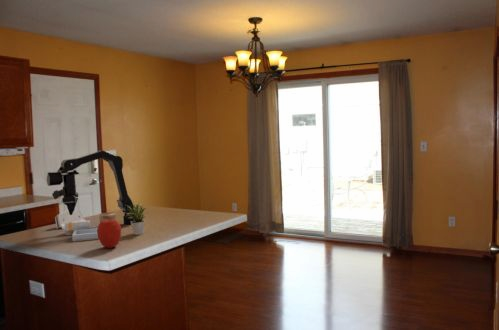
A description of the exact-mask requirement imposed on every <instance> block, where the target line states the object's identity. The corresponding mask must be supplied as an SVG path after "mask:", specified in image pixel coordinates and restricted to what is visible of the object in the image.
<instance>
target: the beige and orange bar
mask: <svg viewBox="0 0 499 330" xmlns="http://www.w3.org/2000/svg"><path fill="white" fill-rule="evenodd" d="M90 227H91V220H89V219H88V220H86V221H75V222H65V229H64V232H65V231H72V230H82V229H90Z"/></svg>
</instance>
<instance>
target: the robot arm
mask: <svg viewBox="0 0 499 330" xmlns="http://www.w3.org/2000/svg"><path fill="white" fill-rule="evenodd" d="M100 159H102V160H104V161H105V162H107V163H108V165H109V168H110V169H111V171H112V172H113V175H114V179H115V183H116V187H117V190H118V195H119V198H118V199H116V202H117V207H118V208H119V209H120V210H121V211H122V212H123V214H124V215H123V216H122V219H123V223H124V225H125V226H126V225H131V221H134V219H132V218H131V217H132V216H133V214H129V215H132V216H131V217H130V216H129V215H128V214H126V213H131V212H132V211H131V209H132V210H133V208H134V206H133V205H134V203H133V201H132V199H131V197H130V195H129V194H128V191H127V186H126V182H125V178H124V173H123V167H124V165H123V157H121V156H119V155H114V154H112V153H110V152H107V151H106V150H104V149H103V150H102V149H101V150H100V149H99V150H98V151H94V152H92V153H89V154H85V155H83V156H79V157H77V158H68V159H67V158H66V159H63V160H62V161H61V163H60V167H59V168H58V170H57V171H53V172H51V171H48V172H47V175H46V185H47V186H48V187H50V186H51V187H52V186H59V185H60V186H61V185H62V184H63V187H62V189H59V190H57V189H56V190H54V191H53V192H52V194H51V195H52V198H53V199H54V200H56V199H58V198H60V197H62V201H61V202H62V203H63V205H64V206H66V208H67V211H69V214H70V215H72V214H73V212H74V210H76V205H77V203H78V200H79V193H78V192H77V184H76V175H80V172H78V171H77V170H76V169H77V168H79V167H80V166H82V165H85V164H88V163H90V162H95V161H97V160H100ZM126 205H127V206H126ZM128 206H129V207H130V208H131V209H130V208H129V207H128ZM127 208H128V210H127ZM129 209H130V211H131V212H130V211H129ZM133 212H134V210H133ZM133 212H132V213H133ZM134 213H135V212H134ZM127 215H128V216H127ZM134 216H135V215H134ZM134 216H133V217H134ZM128 217H130V218H131V219H130V218H128ZM134 218H135V217H134Z"/></svg>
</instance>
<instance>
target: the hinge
mask: <svg viewBox="0 0 499 330" xmlns="http://www.w3.org/2000/svg"><path fill="white" fill-rule="evenodd" d="M54 219H55V225H56V230H57V229H62V230H65V222H75V221H87V220H86V219H85V217H84V215H83V213H82V211H81V210H79V209H78V210H77V209H74V212H73V214H72V215H70V214H69V211H68V210H65V211H62V212H61V213H59V214H57V215H56V216H55V217H54Z"/></svg>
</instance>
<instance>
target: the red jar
mask: <svg viewBox="0 0 499 330" xmlns="http://www.w3.org/2000/svg"><path fill="white" fill-rule="evenodd" d="M97 226H98V229H97V234H98V238H99V239H98V240H99V242H100V244H101V245H102V246H103V247H104V248H106V249H112V248H116V246H117V245H118V244H119V242H120V240H121V236H122V226H121V224H120V223H119V221H117V219H116V220H113V219H106V220H103V221H102V222H101V223H100V222H99V224H98V225H97Z"/></svg>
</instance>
